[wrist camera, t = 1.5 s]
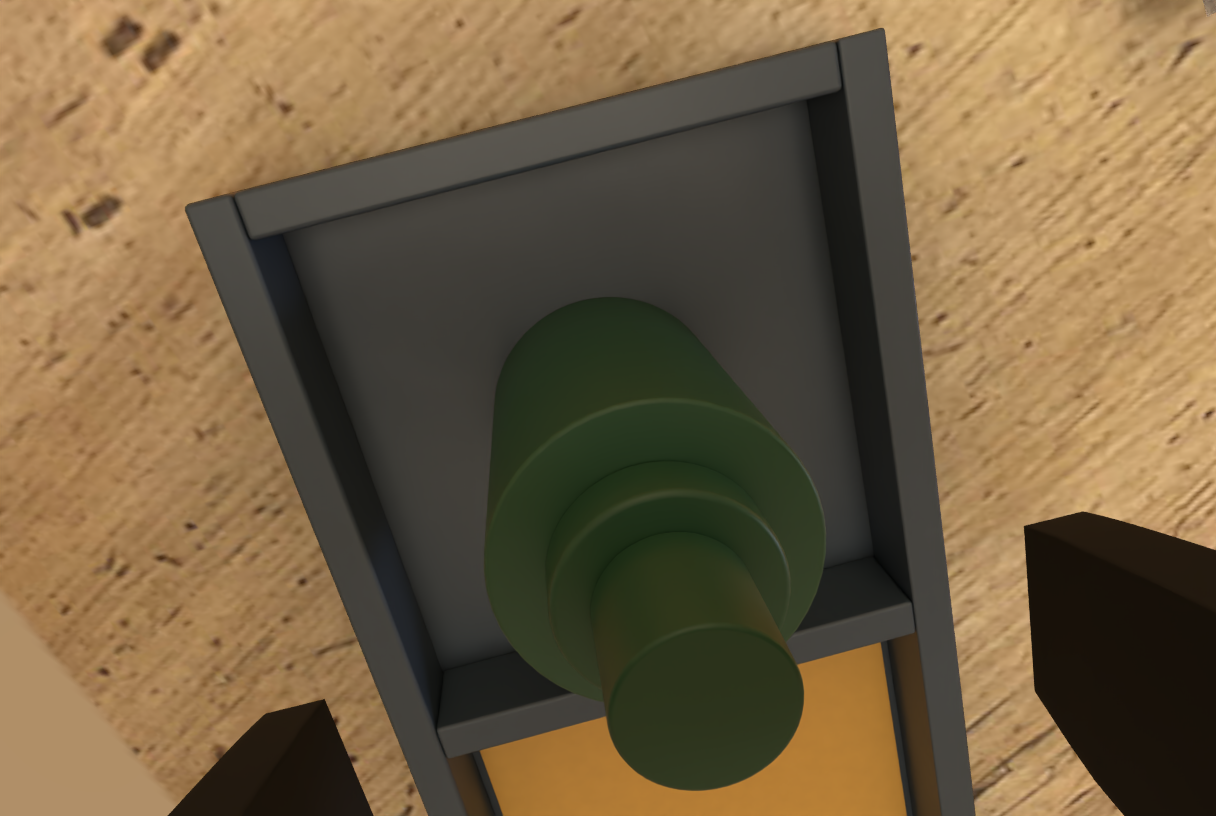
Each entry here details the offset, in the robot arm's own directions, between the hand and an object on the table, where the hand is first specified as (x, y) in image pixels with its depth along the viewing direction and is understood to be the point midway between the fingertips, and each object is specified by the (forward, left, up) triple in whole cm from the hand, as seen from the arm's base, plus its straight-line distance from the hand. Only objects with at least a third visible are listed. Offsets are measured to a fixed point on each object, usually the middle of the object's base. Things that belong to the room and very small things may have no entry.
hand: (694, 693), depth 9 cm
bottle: (0, 0, -9) cm, 9 cm away
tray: (-2, -5, -10) cm, 11 cm away
